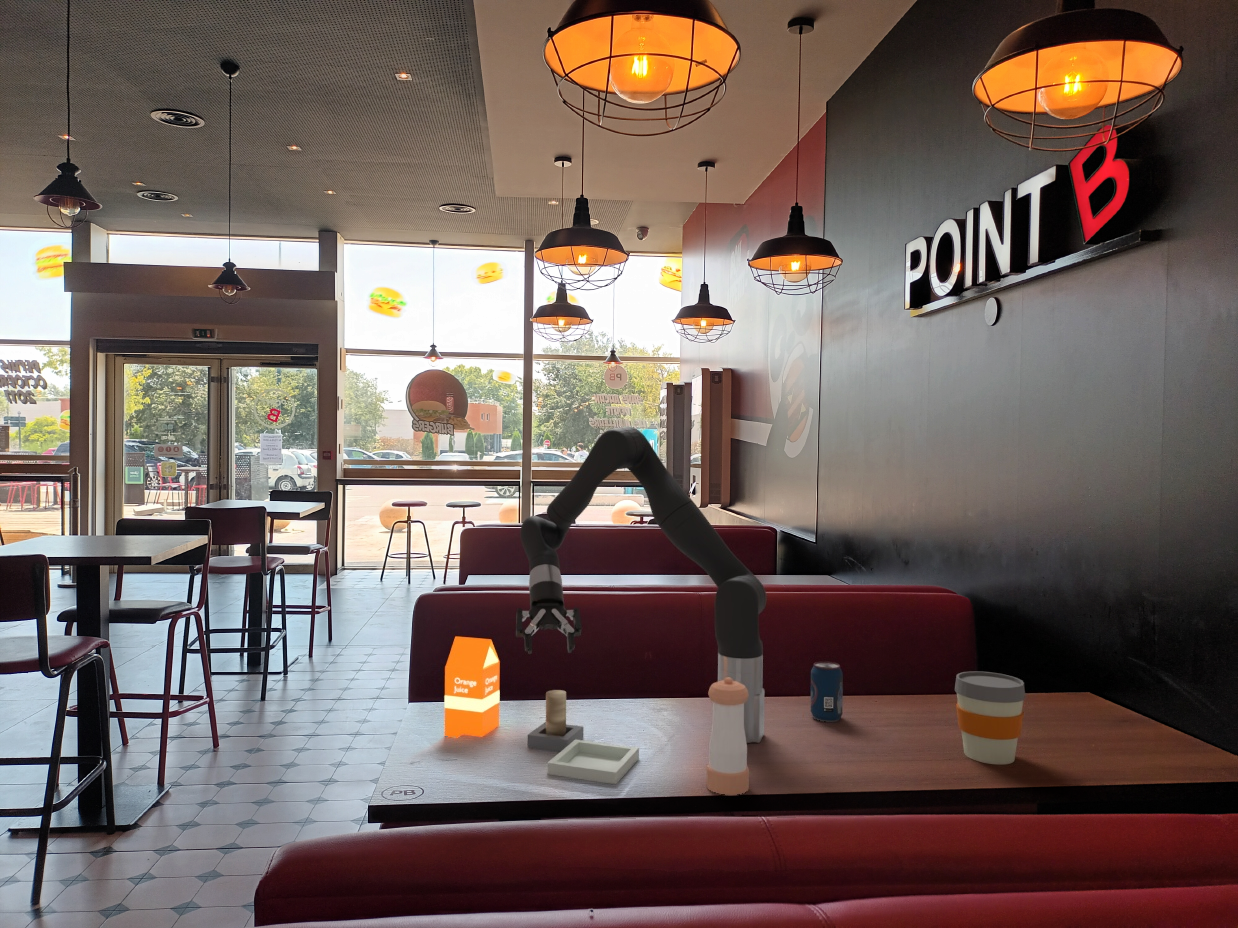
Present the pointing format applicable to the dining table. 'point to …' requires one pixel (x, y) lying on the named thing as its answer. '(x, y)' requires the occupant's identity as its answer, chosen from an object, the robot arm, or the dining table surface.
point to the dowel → (556, 712)
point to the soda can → (826, 691)
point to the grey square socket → (553, 738)
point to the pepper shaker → (728, 739)
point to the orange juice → (471, 688)
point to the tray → (593, 761)
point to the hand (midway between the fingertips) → (550, 651)
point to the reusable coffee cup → (989, 715)
